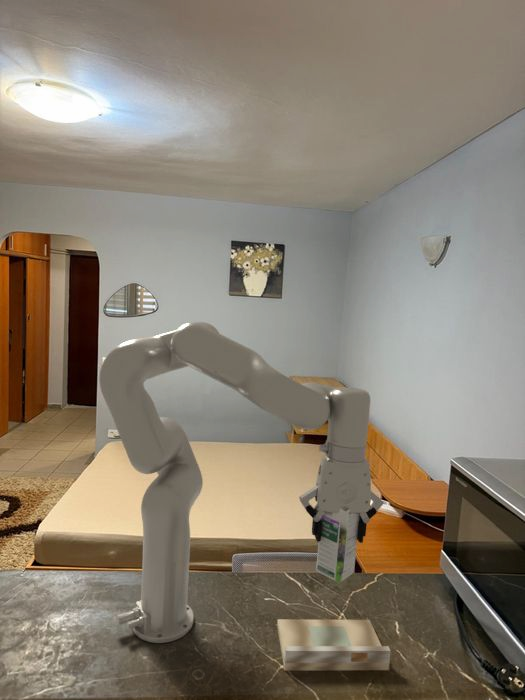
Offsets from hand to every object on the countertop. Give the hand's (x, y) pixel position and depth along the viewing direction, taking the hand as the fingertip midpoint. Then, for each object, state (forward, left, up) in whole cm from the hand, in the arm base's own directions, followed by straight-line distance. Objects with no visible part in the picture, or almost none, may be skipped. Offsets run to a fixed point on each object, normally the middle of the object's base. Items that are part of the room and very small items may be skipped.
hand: (338, 538), depth 90 cm
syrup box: (0, 0, -7) cm, 7 cm away
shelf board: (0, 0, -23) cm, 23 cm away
